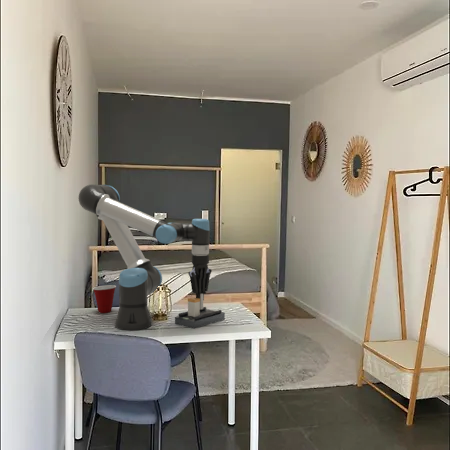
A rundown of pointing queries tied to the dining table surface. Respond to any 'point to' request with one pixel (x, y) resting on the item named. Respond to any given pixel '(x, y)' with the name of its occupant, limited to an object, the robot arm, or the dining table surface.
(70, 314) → the dining table surface
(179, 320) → the switch panel
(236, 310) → the dining table surface
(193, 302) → the switch knob
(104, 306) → the plastic cup
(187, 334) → the dining table surface
